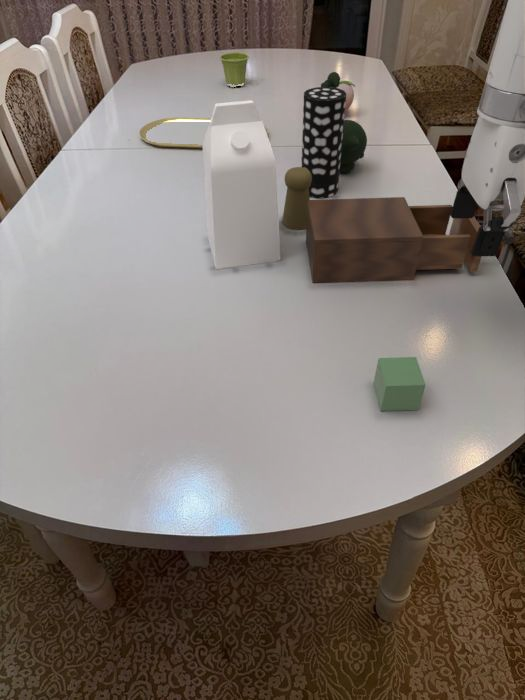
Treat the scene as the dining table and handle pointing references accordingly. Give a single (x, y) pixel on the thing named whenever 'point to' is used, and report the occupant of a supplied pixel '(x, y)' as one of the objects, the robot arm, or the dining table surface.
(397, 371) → the block
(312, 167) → the spotted tube
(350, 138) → the toy figurine
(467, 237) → the drawer
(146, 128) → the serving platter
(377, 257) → the cabinet
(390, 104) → the dining table surface
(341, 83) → the decorative fruit
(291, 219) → the olive pawn
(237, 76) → the plant pot
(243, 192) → the milk
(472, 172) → the robot arm
